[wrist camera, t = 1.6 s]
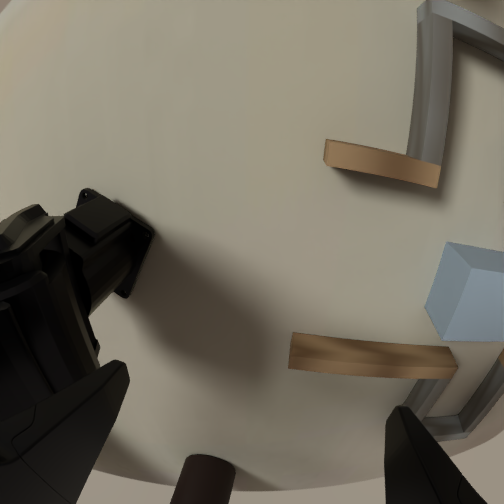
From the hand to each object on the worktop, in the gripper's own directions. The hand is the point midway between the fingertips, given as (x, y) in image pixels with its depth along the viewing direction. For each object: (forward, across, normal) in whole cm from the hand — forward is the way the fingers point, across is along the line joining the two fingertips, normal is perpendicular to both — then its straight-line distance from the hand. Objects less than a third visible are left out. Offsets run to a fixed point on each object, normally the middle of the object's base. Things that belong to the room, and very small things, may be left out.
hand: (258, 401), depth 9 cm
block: (+12, -14, 0) cm, 18 cm away
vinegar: (+12, +5, +32) cm, 34 cm away
